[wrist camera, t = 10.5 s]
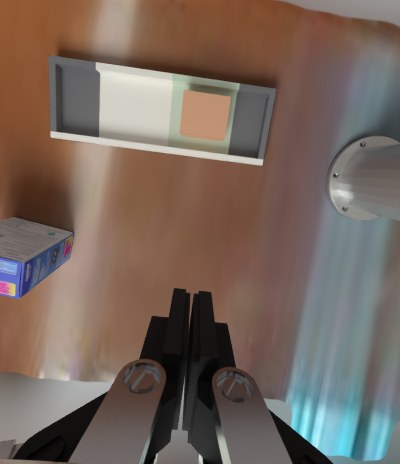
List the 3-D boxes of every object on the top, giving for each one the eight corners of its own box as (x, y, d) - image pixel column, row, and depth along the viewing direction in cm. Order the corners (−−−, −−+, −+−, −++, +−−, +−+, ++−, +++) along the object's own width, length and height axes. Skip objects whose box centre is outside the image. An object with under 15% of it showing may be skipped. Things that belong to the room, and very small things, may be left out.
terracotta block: (227, 104, 35) (231, 96, 31) (221, 141, 36) (225, 138, 32) (185, 98, 35) (183, 89, 31) (181, 136, 36) (179, 132, 32)
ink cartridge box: (9, 247, 40) (-91, 290, 26) (12, 215, 39) (-91, 243, 25) (69, 262, 41) (4, 312, 27) (74, 232, 40) (8, 267, 26)
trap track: (272, 93, 35) (276, 88, 33) (258, 165, 37) (262, 165, 36) (57, 61, 34) (48, 55, 32) (58, 138, 36) (50, 137, 34)
